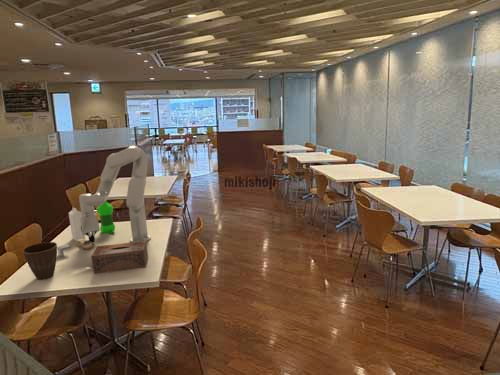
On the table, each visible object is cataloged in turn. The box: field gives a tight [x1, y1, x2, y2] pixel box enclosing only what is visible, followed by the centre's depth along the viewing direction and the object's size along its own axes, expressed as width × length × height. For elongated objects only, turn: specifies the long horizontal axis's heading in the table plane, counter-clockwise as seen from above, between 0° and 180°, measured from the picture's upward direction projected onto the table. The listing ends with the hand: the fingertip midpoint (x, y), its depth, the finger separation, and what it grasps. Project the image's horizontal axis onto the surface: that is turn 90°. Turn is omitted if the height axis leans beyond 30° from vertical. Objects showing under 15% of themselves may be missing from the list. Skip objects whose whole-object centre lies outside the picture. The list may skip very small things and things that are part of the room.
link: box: [76, 238, 93, 251], centre depth 225 cm, size 16×5×4 cm, turn 43°
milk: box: [68, 207, 86, 242], centre depth 239 cm, size 6×6×22 cm
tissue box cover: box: [90, 241, 149, 275], centre depth 196 cm, size 26×14×10 cm, turn 101°
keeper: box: [57, 243, 71, 258], centre depth 212 cm, size 5×6×6 cm
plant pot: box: [22, 241, 58, 281], centre depth 186 cm, size 15×15×16 cm
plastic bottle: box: [96, 200, 116, 235], centre depth 250 cm, size 10×10×25 cm
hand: (92, 242), depth 230 cm, fingers closed
